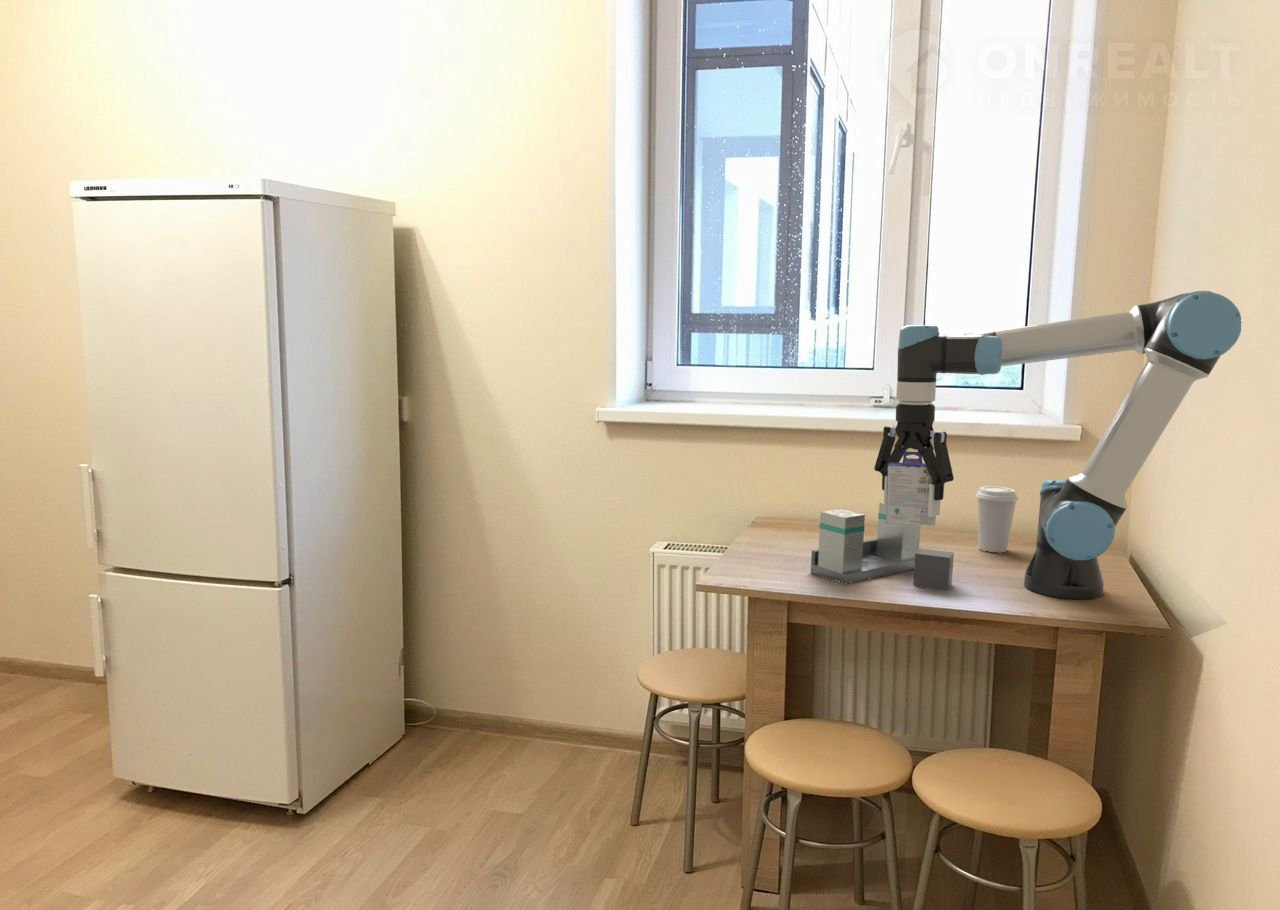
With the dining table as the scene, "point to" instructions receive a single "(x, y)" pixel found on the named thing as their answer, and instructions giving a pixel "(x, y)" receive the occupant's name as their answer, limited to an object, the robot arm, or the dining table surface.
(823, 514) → the grey stand with boxes
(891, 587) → the dining table surface
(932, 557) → the block
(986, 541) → the coffee cup
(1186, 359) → the robot arm
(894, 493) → the ink cartridge box
